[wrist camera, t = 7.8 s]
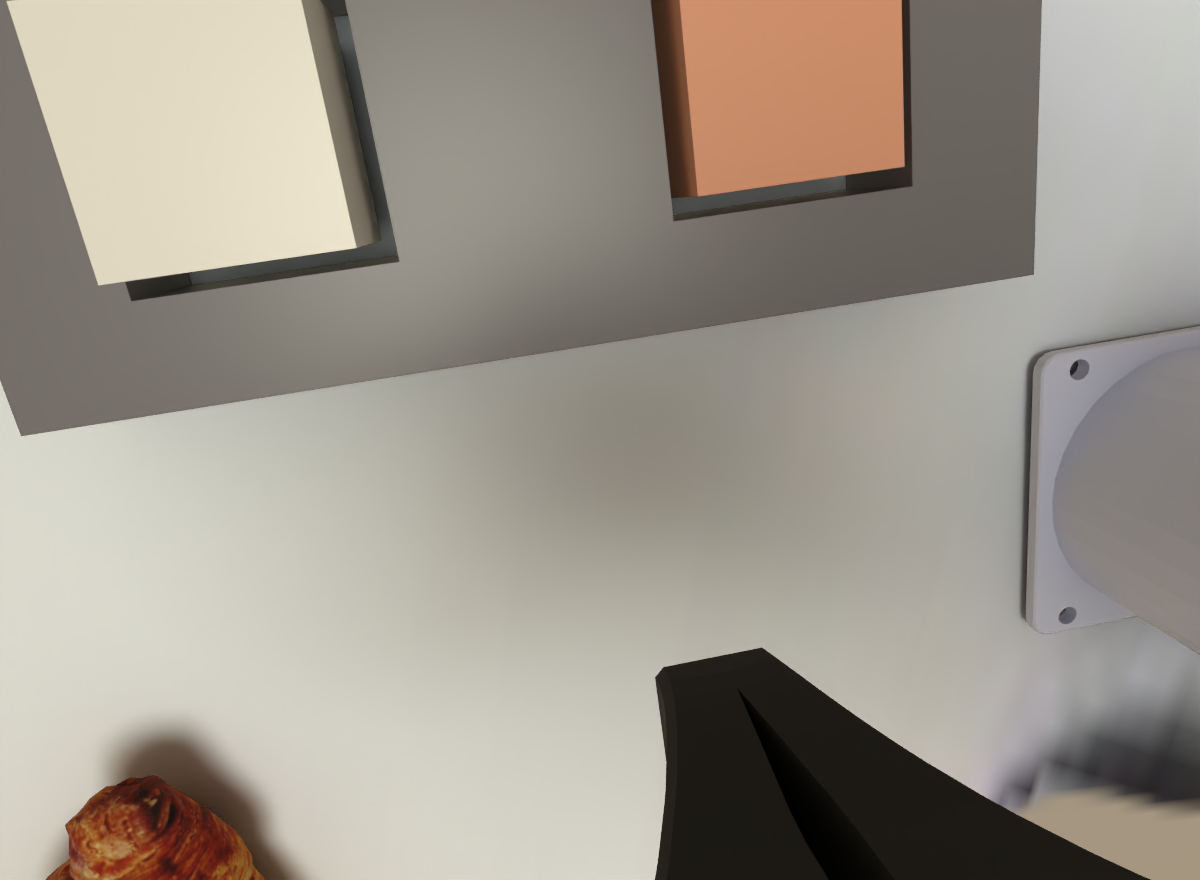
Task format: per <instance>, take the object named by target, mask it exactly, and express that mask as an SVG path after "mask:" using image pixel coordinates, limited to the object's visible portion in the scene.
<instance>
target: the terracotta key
mask: <svg viewBox="0 0 1200 880" xmlns="http://www.w3.org/2000/svg"><path fill="white" fill-rule="evenodd" d="M651 9H652V19H653V28H654V38H655V47H656V57H657V67H658V76H659V86H660V96H661V105H662V115H663V124H664V134H665V144H666V153H667V163H668V173H669V182H670V192H671V198H677V197H698V196H705V195H712V194H719V193H726V192H733V191H740V190H746V189H753V188H760V187H767V186H774V185H781V184H788V183H795V182H802V181H809V180H816V179H822V178H829V177H836V176H843V175H850V174H857V173H864V172H871V171H878V170H885V169H892V168H898V167H905V162H904V107H903V53H902V0H651Z"/></svg>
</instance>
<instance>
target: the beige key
mask: <svg viewBox="0 0 1200 880" xmlns="http://www.w3.org/2000/svg"><path fill="white" fill-rule="evenodd" d="M7 5H8V8H9V11H10V14H11V17H12V20H13V23H14V26H15V29H16V32H17V35H18V39H19V42H20V45H21V48H22V51H23V54H24V57H25V60H26V63H27V66H28V69H29V73H30V76H31V79H32V82H33V85H34V88H35V91H36V94H37V97H38V100H39V103H40V107H41V110H42V113H43V116H44V119H45V122H46V125H47V128H48V131H49V134H50V137H51V141H52V144H53V147H54V150H55V153H56V156H57V159H58V162H59V165H60V168H61V171H62V175H63V178H64V181H65V184H66V187H67V190H68V193H69V196H70V199H71V202H72V205H73V209H74V212H75V215H76V218H77V221H78V224H79V227H80V230H81V233H82V236H83V239H84V243H85V246H86V249H87V252H88V255H89V258H90V261H91V264H92V267H93V270H94V273H95V276H96V280H97V283H98V285H105V284H112V283H119V282H126V281H133V280H140V279H146V278H153V277H160V276H167V275H174V274H181V273H188V272H195V271H202V270H209V269H215V268H222V267H229V266H236V265H243V264H250V263H257V262H264V261H271V260H277V259H284V258H291V257H298V256H305V255H312V254H319V253H326V252H333V251H340V250H346V249H353V248H358V247H361V246H365V245H368V244H371V243H374V242H378V241H381V237H380V232H379V227H378V222H377V218H376V213H375V208H374V204H373V199H372V194H371V190H370V185H369V180H368V176H367V171H366V166H365V161H364V157H363V152H362V147H361V143H360V138H359V133H358V129H357V124H356V119H355V115H354V110H353V105H352V100H351V96H350V91H349V86H348V82H347V77H346V72H345V68H344V63H343V58H342V54H341V49H340V44H339V39H338V35H337V30H336V25H335V21H334V16H333V15H332V13H331V12H330V11H329V10H328V9H327V7H326V6H325V5H324V4H323V3H322V1H321V0H12V1H7Z"/></svg>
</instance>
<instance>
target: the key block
mask: <svg viewBox="0 0 1200 880" xmlns="http://www.w3.org/2000/svg"><path fill="white" fill-rule="evenodd" d="M7 1H12V0H0V381H1V383H2V386H3V389H4V391H5V394H6V397H7V399H8V402H9V405H10V407H11V410H12V413H13V415H14V418H15V421H16V423H17V426H18V429H19V431H20V434H21V436H25V435H31V434H38V433H44V432H50V431H57V430H63V429H69V428H75V427H82V426H88V425H94V424H100V423H107V422H113V421H119V420H126V419H132V418H138V417H144V416H151V415H157V414H163V413H169V412H176V411H182V410H188V409H194V408H201V407H207V406H213V405H220V404H226V403H232V402H238V401H245V400H251V399H257V398H263V397H270V396H276V395H282V394H289V393H295V392H301V391H307V390H314V389H320V388H326V387H332V386H339V385H345V384H351V383H358V382H364V381H370V380H376V379H383V378H389V377H395V376H401V375H408V374H414V373H420V372H426V371H433V370H439V369H445V368H452V367H458V366H464V365H470V364H477V363H483V362H489V361H495V360H502V359H508V358H514V357H521V356H527V355H533V354H539V353H546V352H552V351H558V350H564V349H571V348H577V347H583V346H590V345H596V344H602V343H608V342H615V341H621V340H627V339H633V338H640V337H646V336H652V335H659V334H665V333H671V332H677V331H684V330H690V329H696V328H702V327H709V326H715V325H721V324H727V323H734V322H740V321H746V320H753V319H759V318H765V317H771V316H778V315H784V314H790V313H796V312H803V311H809V310H815V309H822V308H828V307H834V306H840V305H847V304H853V303H859V302H865V301H872V300H878V299H884V298H891V297H897V296H903V295H909V294H916V293H922V292H928V291H934V290H941V289H947V288H953V287H959V286H966V285H972V284H978V283H985V282H991V281H997V280H1003V279H1010V278H1016V277H1022V276H1028V275H1034V247H1035V213H1036V179H1037V145H1038V111H1039V77H1040V42H1041V8H1042V0H902V53H903V107H904V162H905V167H898V168H892V169H885V170H878V171H871V172H864V173H857V174H850V175H846V179H847V190H840V191H833V192H826V193H819V194H812V195H806V196H799V197H792V198H785V199H778V200H771V201H765V202H758V203H751V204H744V205H737V206H731V207H724V208H717V209H710V210H703V211H696V212H690V213H683V214H676V215H673V211H672V201H671V192H670V182H669V173H668V163H667V153H666V144H665V134H664V124H663V115H662V105H661V96H660V86H659V76H658V67H657V57H656V47H655V38H654V28H653V19H652V9H651V0H321V1H322V3H323V4H324V5H325V6H326V7H327V9H328V10H329V11H330V12H331V13H332V15H333V16H340V15H348V17H349V22H350V27H351V31H352V36H353V41H354V46H355V51H356V55H357V60H358V65H359V70H360V75H361V79H362V84H363V89H364V94H365V99H366V103H367V108H368V113H369V118H370V123H371V127H372V132H373V137H374V142H375V147H376V151H377V156H378V161H379V166H380V171H381V175H382V180H383V185H384V190H385V195H386V200H387V204H388V209H389V214H390V219H391V224H392V228H393V233H394V238H395V243H396V248H397V252H398V255H396V256H389V257H382V258H375V259H369V260H362V261H355V262H348V263H341V264H334V265H328V266H321V267H314V268H307V269H300V270H293V271H287V272H280V273H273V274H266V275H259V276H252V277H246V278H239V279H232V280H225V281H218V282H211V283H205V284H198V285H191V282H190V278H189V275H188V273H181V274H174V275H167V276H160V277H153V278H146V279H140V280H133V281H126V282H119V283H112V284H105V285H98V283H97V280H96V276H95V273H94V270H93V267H92V264H91V261H90V258H89V255H88V252H87V249H86V246H85V243H84V239H83V236H82V233H81V230H80V227H79V224H78V221H77V218H76V215H75V212H74V209H73V205H72V202H71V199H70V196H69V193H68V190H67V187H66V184H65V181H64V178H63V175H62V171H61V168H60V165H59V162H58V159H57V156H56V153H55V150H54V147H53V144H52V141H51V137H50V134H49V131H48V128H47V125H46V122H45V119H44V116H43V113H42V110H41V107H40V103H39V100H38V97H37V94H36V91H35V88H34V85H33V82H32V79H31V76H30V73H29V69H28V66H27V63H26V60H25V57H24V54H23V51H22V48H21V45H20V42H19V39H18V35H17V32H16V29H15V26H14V23H13V20H12V17H11V14H10V11H9V8H8V5H7Z"/></svg>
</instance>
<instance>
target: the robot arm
mask: <svg viewBox="0 0 1200 880" xmlns="http://www.w3.org/2000/svg"><path fill="white" fill-rule="evenodd" d="M1075 361H1078V368H1077V371H1076V372H1075V373H1074V374H1073V375H1071V376H1070V368H1071V366H1072V364H1073V363H1074V362H1075ZM1065 608H1066V611H1065V612H1064V613H1063V614H1062V615H1061V616H1059V615H1060V612H1061V611H1062V610H1063V609H1065ZM1135 616H1139V617H1141V618H1143V619H1144V620H1146V621H1147V622H1149V623H1150V624H1152V625H1154V626H1155V627H1157V628H1158V629H1160V630H1161V631H1163V632H1165V633H1166V634H1168V635H1169V636H1171V637H1173V638H1174V639H1176V640H1177V641H1179V642H1180V643H1182V644H1184V645H1185V646H1187V647H1188V648H1190V649H1191V650H1193V651H1195V652H1196V653H1198V654H1199V655H1200V326H1197V327H1191V328H1185V329H1179V330H1173V331H1167V332H1161V333H1155V334H1149V335H1143V336H1137V337H1132V338H1126V339H1120V340H1114V341H1108V342H1102V343H1096V344H1090V345H1084V346H1078V347H1072V348H1066V349H1060V350H1054V351H1051V352H1048V353H1045V354H1044V355H1043V356H1042V357H1040V358H1039V359H1038V361H1037V363H1036V364H1035V367H1034V371H1033V392H1032V425H1031V458H1030V491H1029V524H1028V557H1027V590H1026V620H1027V623H1028V624H1029V625H1030V626H1031V627H1032V628H1033V629H1034V630H1036V631H1037V632H1039V633H1041V634H1051V633H1056V632H1061V631H1066V630H1071V629H1076V628H1081V627H1086V626H1091V625H1096V624H1101V623H1105V622H1110V621H1115V620H1120V619H1125V618H1130V617H1135ZM655 679H656V687H657V694H658V702H659V709H660V717H661V724H662V732H663V739H664V747H665V754H666V762H667V763H666V793H665V805H664V814H663V823H662V831H661V840H660V849H659V858H658V865H657V871H656V877H655V880H1150V879H1148V878H1145V877H1143V876H1141V875H1138V874H1136V873H1134V872H1132V871H1130V870H1128V869H1125V868H1123V867H1121V866H1119V865H1117V864H1115V863H1113V862H1110V861H1108V860H1106V859H1104V858H1102V857H1100V856H1098V855H1095V854H1093V853H1091V852H1089V851H1087V850H1085V849H1083V848H1081V847H1079V846H1077V845H1075V844H1073V843H1071V842H1069V841H1068V840H1066V839H1064V838H1062V837H1060V836H1058V835H1056V834H1054V833H1052V832H1050V831H1048V830H1046V829H1044V828H1042V827H1040V826H1038V825H1036V824H1034V823H1032V822H1030V821H1028V820H1026V819H1024V818H1022V817H1020V816H1018V815H1016V814H1015V813H1013V812H1011V811H1009V810H1007V809H1006V808H1004V807H1002V806H1000V805H998V804H996V803H995V802H993V801H991V800H989V799H987V798H986V797H984V796H982V795H980V794H979V793H977V792H975V791H974V790H972V789H970V788H969V787H967V786H965V785H963V784H962V783H960V782H958V781H957V780H955V779H953V778H952V777H950V776H948V775H947V774H945V773H943V772H942V771H940V770H938V769H937V768H935V767H933V766H932V765H930V764H928V763H927V762H925V761H923V760H922V759H920V758H919V757H917V756H916V755H914V754H912V753H911V752H909V751H908V750H906V749H905V748H903V747H901V746H900V745H898V744H897V743H895V742H894V741H892V740H891V739H889V738H888V737H886V736H885V735H883V734H882V733H880V732H879V731H877V730H876V729H874V728H873V727H871V726H870V725H869V724H867V723H866V722H864V721H863V720H861V719H860V718H858V717H857V716H855V715H854V714H853V713H851V712H850V711H848V710H847V709H845V708H844V707H843V706H841V705H840V704H838V703H837V702H836V701H834V700H833V699H832V698H830V697H829V696H827V695H826V694H825V693H823V692H822V691H821V690H819V689H818V688H816V687H815V686H814V685H812V684H811V683H810V682H808V681H807V680H806V679H804V678H803V677H801V676H800V675H799V674H797V673H796V672H795V671H793V670H792V669H791V668H789V667H788V666H787V665H785V664H784V663H782V662H781V661H780V660H778V659H777V658H776V657H774V656H773V655H771V654H770V653H769V652H767V651H766V650H765V649H763V648H758V649H753V650H748V651H743V652H738V653H733V654H728V655H723V656H718V657H713V658H708V659H703V660H698V661H693V662H688V663H683V664H678V665H673V666H668V667H663V669H662V670H661V671H660V672H659V674H658V675H657V676H656V677H655Z"/></svg>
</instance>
